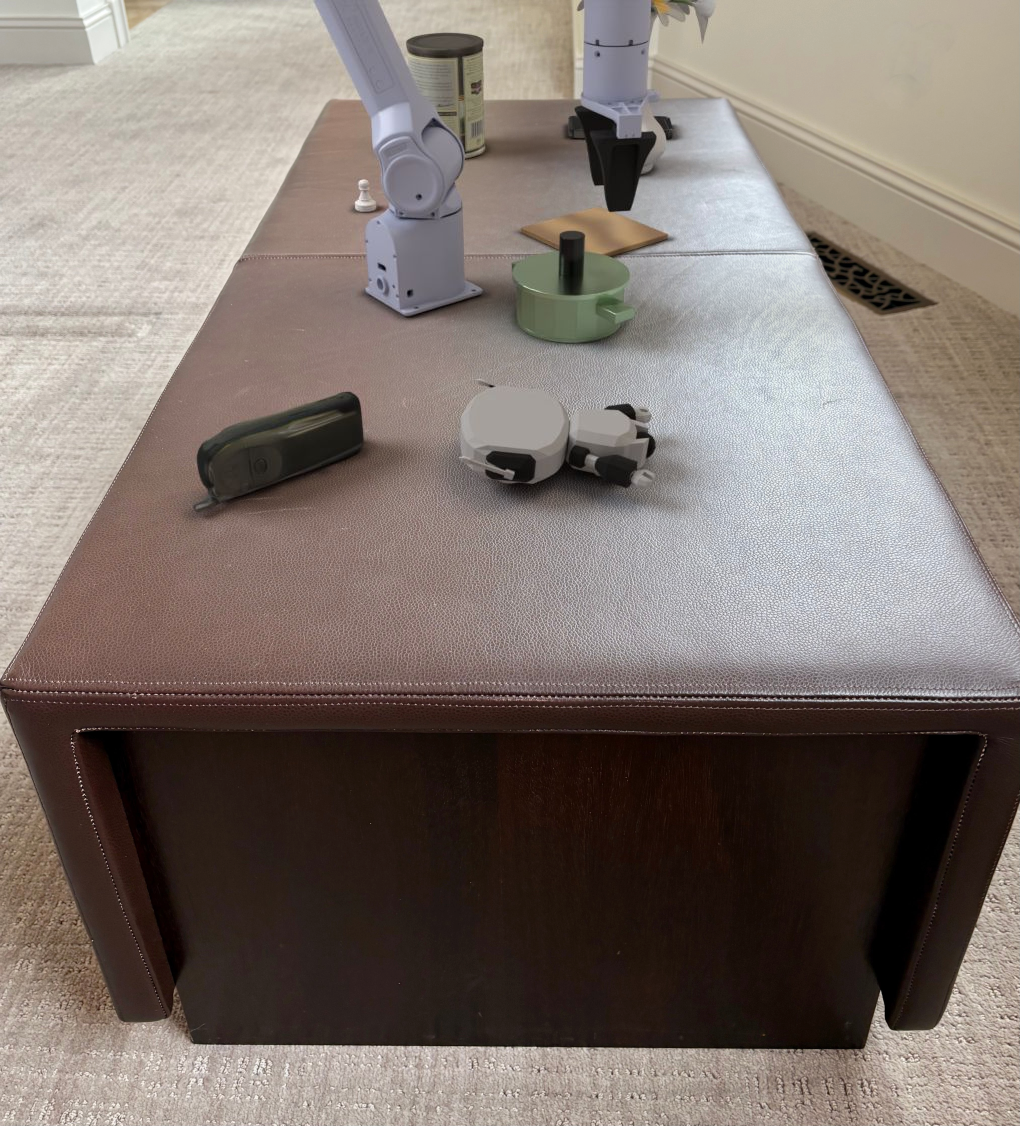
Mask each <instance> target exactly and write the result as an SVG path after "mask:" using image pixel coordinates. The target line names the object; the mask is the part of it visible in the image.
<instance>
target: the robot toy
mask: <svg viewBox="0 0 1020 1126" xmlns="http://www.w3.org/2000/svg"><path fill="white" fill-rule="evenodd" d="M474 381H475V382H476V384H477V385H479V386H482V387H487V389H483V390H482V391H480V392H479V393H478V394H476V395H475V396H474V397H473V398H471V399H470V401H469V402H468V403H467V405H466V407H465V408H464V410H463V412H462V414H461V416H460V427H459V428H460V429H459V443H460V452H461V456H458V457H457V458H458V460H459V461H460V462H461V463H463V464H466V465H467V466H468V467H469V469H470V470H472V471H473V472H474V473H476V474H477V475H479V477H481V478H483V479H485V480H493V481H497V482H500V483H502V484H517V483H523V484H535V483H537V482H540V481H543V480H545V479H547V478H549V477H551V476H553V475H554V474H555V473H557V472H558V471H559V470H560V469H561V467H562V466H563V464H564V462H565V460H566V462H567V463H568V465H569V466H570V467H571V468H572V469H574V470H578V471H583V472H587V473H593V474H594V475H595V476H596V477H601V478H602V479H603V480H604V481H605V482H607V483H610V484H613V485H616V486H618V487H621V488H623V489H628V488H630V486H632V485H634V486H635V488H638V489H644V490H647V489H649V488H651V487H652V485H653V484H655V482H656V475H655V473H654V472H652V471H650V470H648V469H641V468H643V466H644V465H645V464H646V459H648V458H650V457H651V456H653V454H654V453H655V451H656V448H657V445H656V443H657V442H656V440H655V438H654V436H653V435H651V434H650V433H649V426H647V425H646V424H647V423H649V422H650V421H651V420H652V416H653V415H652V413H651V412H649V409H647V408H646V407H644V406H634V407H633V406H632V404H630V403H619V404H612V405H607V406H606V407H605V408H603V409H599V408H598V409H597V408H596V409H595V408H592V409H591V408H590V409H589V408H588V409H585V408H584V409H578V410H577V411H575V412H574V413H571V415H570V417H569V414H568V411H567V410H566V407H565V406H564V405H563V403H562V402H561V401H560V400H559V399H558V398H557V397H555V396H554V395H553V394H550V393H549V392H547V391H546V390H544V389H539V388H529V387H521V386H519V387H518V386H508V385H499V384H494V383H491V382H488V381H487V380H486V379H483V378H477V379H474Z"/></svg>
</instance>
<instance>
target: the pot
mask: <svg viewBox="0 0 1020 1126" xmlns="http://www.w3.org/2000/svg"><path fill="white" fill-rule="evenodd" d="M522 260H523V259H520V260H517V261H514V262H511V273H512V272H513V268H514V267H515V265H516V264H517V263H519V262H520V261H522ZM624 295H625V288H624V289H623V290H621V291H619V292H617V293H615V294H613V295H610V296H607V297H603V298H598V299H592V300H582V301H565V300H555V299H548V298H543V297H539V296H536V295H533V294H530V293H528V292H525V291H524V290H522V289H520V288H519V287H518V286H517V285H516V319H517V324H518V326H519V327H520V329H521V330H523V332H525V333H526V334H528V335H530V336H533V337H535V338H537V339H541V340H544V341H549V342H555V343H562V344H563V343H564V344H565V343H566V344H578V343H587V342H594V341H598V340H602V339H605V338H608V337H610V336H612V335H613V334H614V333H616V332H618V331H619V329H620V328H621V326H622V323H623V322H626V321H629V320H631V319H634V318H635V312H636V308H635V306H632V305H631V304H628V303H626V302H624V299H625V297H624Z"/></svg>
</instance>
